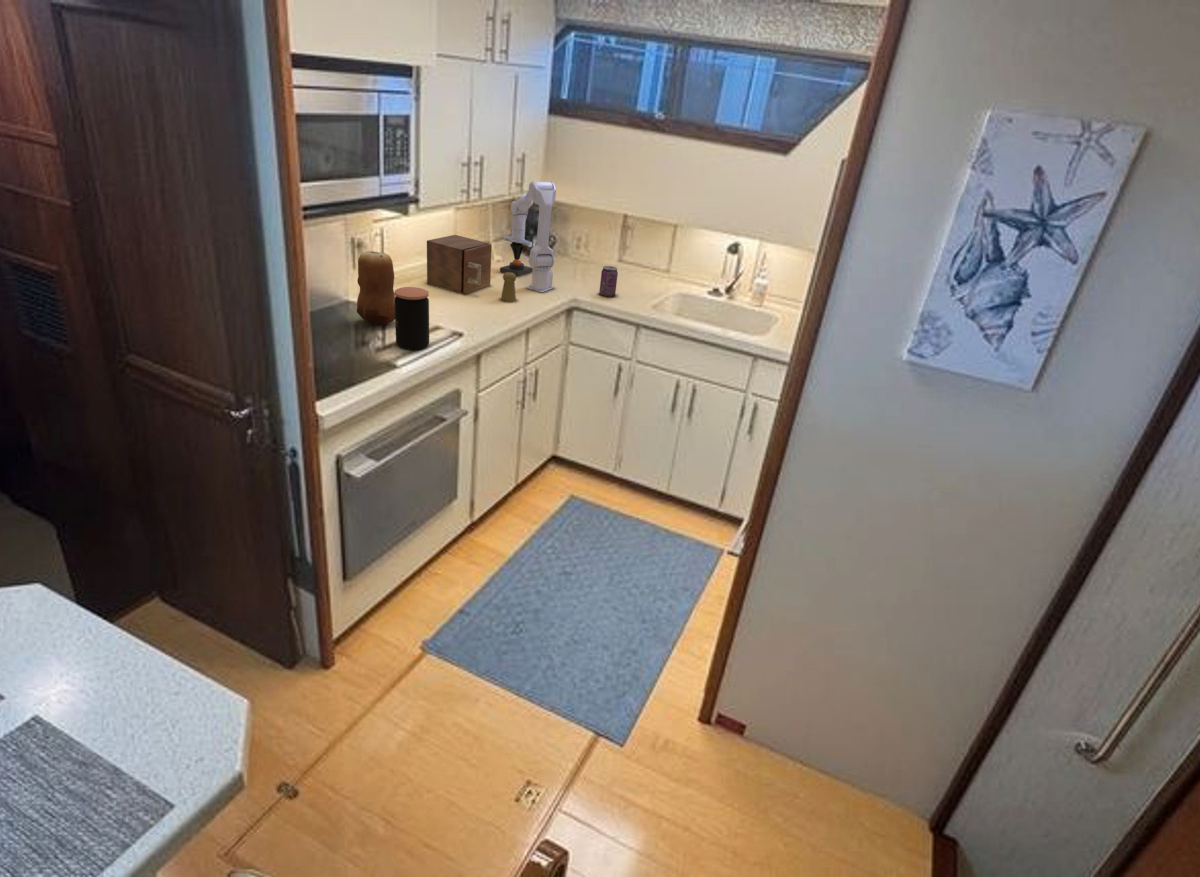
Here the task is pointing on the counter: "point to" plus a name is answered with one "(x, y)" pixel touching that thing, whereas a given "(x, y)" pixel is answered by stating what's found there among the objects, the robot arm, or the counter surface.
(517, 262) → the button
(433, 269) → the cupboard
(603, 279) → the beverage can
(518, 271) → the switch block
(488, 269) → the door
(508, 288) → the pepper shaker
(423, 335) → the coffee jar
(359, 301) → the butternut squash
